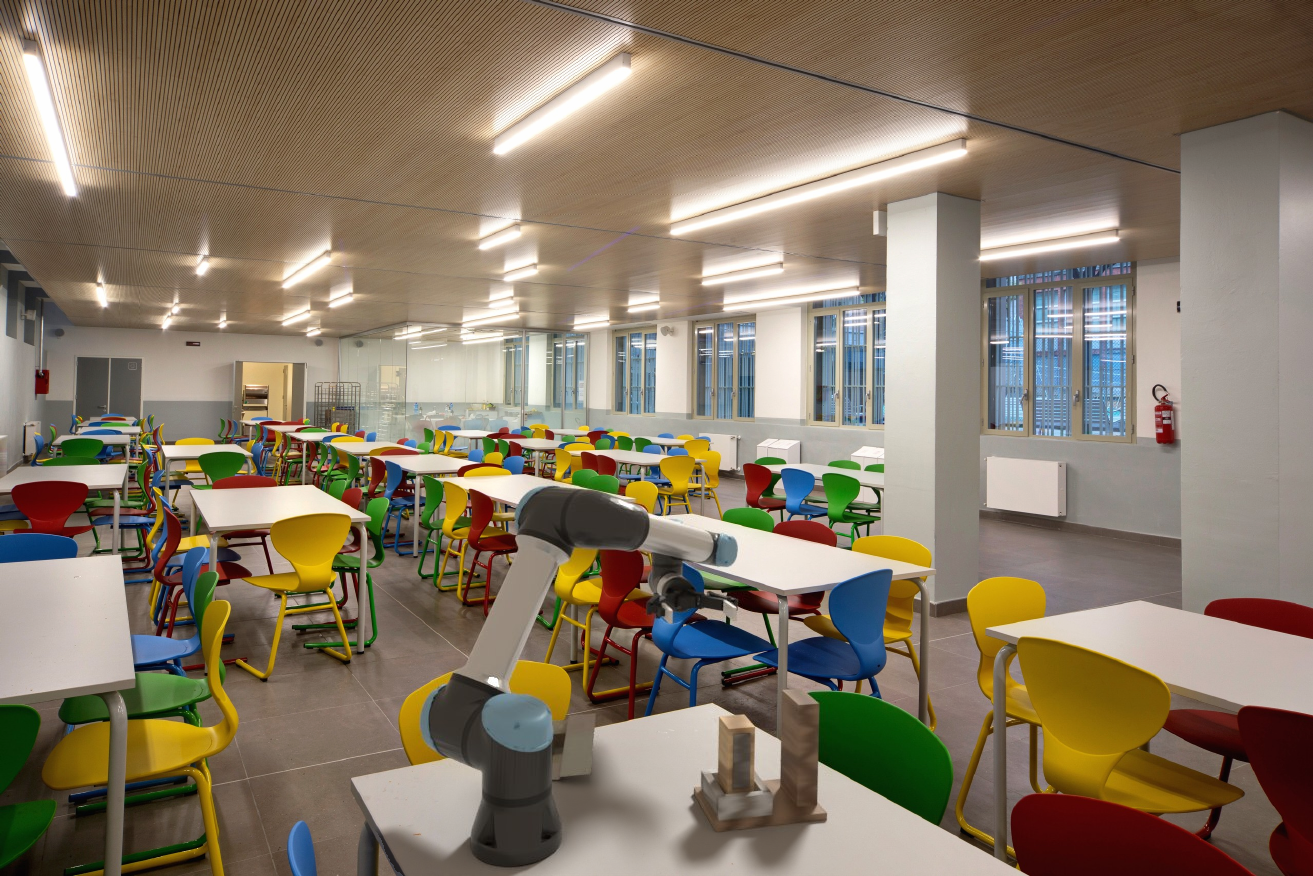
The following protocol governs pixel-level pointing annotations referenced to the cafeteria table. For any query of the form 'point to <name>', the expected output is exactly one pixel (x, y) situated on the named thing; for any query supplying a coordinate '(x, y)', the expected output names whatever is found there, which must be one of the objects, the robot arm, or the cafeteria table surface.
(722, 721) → the block
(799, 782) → the wooden peg insertion stand
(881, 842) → the cafeteria table surface
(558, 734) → the wall
